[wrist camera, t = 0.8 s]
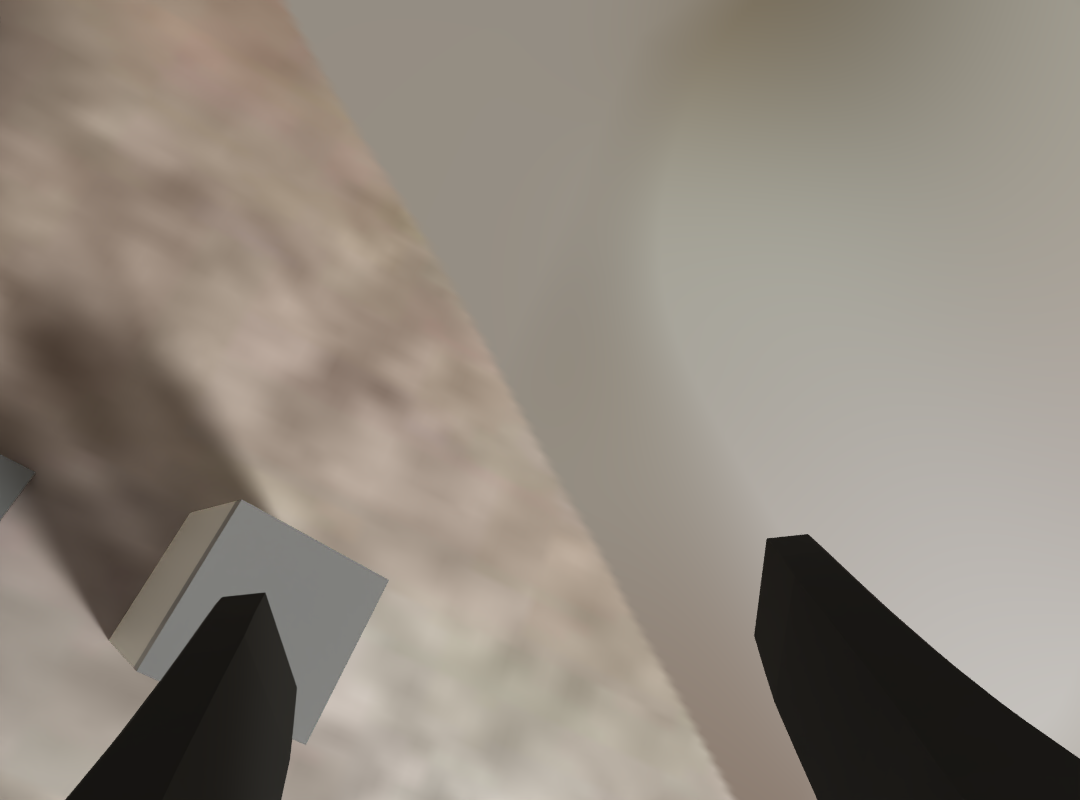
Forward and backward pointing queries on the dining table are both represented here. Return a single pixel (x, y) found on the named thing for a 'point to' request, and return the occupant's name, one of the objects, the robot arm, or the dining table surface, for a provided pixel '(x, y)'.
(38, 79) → the dining table surface
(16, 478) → the socket base
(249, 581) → the plug
